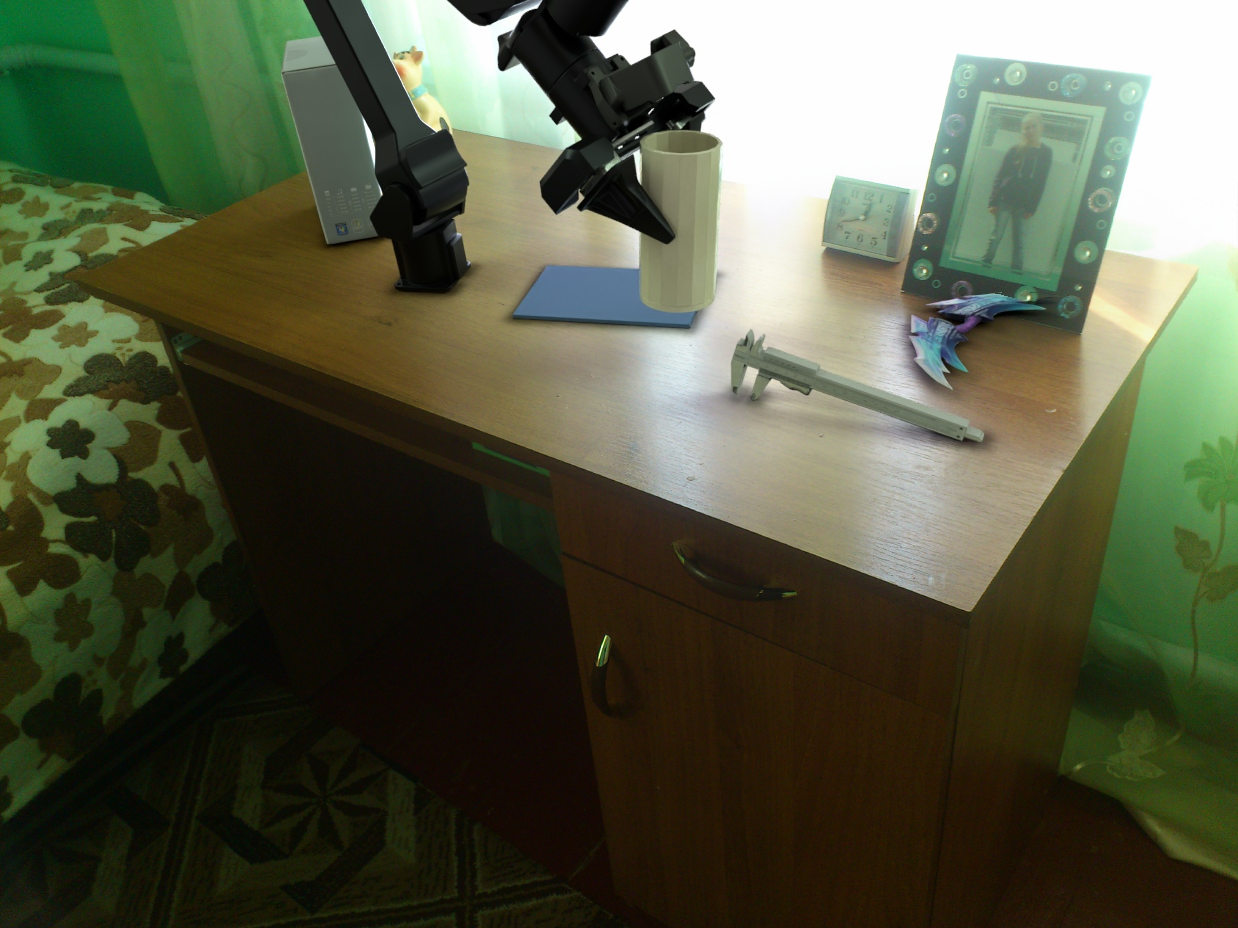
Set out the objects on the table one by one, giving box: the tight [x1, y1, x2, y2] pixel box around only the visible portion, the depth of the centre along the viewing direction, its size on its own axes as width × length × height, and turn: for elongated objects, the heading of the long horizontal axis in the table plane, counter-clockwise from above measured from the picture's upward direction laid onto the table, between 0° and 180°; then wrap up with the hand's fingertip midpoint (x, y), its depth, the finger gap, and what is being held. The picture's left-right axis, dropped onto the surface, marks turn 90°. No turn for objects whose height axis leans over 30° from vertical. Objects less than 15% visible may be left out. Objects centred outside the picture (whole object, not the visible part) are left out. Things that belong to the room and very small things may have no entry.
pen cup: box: [638, 130, 724, 313], centre depth 82 cm, size 7×7×14 cm
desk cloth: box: [512, 264, 698, 329], centre depth 99 cm, size 18×11×1 cm, turn 75°
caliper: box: [730, 328, 985, 443], centre depth 77 cm, size 20×1×6 cm, turn 63°
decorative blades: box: [908, 292, 1047, 391], centre depth 88 cm, size 20×1×10 cm
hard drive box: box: [280, 35, 382, 245], centre depth 116 cm, size 16×8×20 cm, turn 14°
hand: (694, 224), depth 81 cm, fingers closed on pen cup, 7 cm apart
